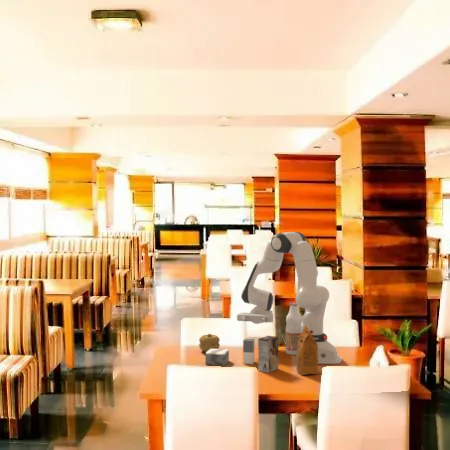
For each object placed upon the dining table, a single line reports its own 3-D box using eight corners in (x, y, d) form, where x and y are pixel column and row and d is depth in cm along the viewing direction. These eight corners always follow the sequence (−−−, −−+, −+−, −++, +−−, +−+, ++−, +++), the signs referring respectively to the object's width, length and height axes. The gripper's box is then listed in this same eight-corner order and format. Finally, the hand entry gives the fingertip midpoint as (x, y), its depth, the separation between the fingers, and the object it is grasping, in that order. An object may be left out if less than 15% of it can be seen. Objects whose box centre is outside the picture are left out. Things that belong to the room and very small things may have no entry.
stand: (228, 360, 296) (228, 349, 296) (224, 365, 287) (224, 354, 287) (210, 359, 299) (210, 348, 299) (205, 364, 289) (205, 353, 289)
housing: (254, 361, 295) (254, 339, 295) (252, 364, 290) (252, 341, 290) (245, 361, 296) (245, 338, 296) (243, 363, 291) (243, 340, 291)
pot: (223, 350, 318) (223, 333, 318) (212, 355, 308) (212, 337, 308) (206, 348, 324) (206, 330, 324) (194, 352, 315) (194, 334, 314)
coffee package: (313, 368, 282) (314, 325, 281) (319, 375, 269) (319, 330, 269) (294, 369, 281) (294, 325, 281) (299, 376, 269) (299, 330, 268)
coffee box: (268, 366, 285) (268, 335, 285) (278, 368, 281) (278, 337, 281) (257, 370, 278) (258, 338, 278) (268, 373, 274) (268, 340, 274)
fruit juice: (282, 353, 313) (282, 303, 312) (292, 350, 319) (293, 301, 319) (295, 356, 306) (295, 305, 305) (306, 353, 312) (306, 303, 312)
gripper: (239, 309, 320) (234, 313, 307) (274, 310, 315) (271, 315, 302) (239, 320, 320) (234, 325, 307) (274, 321, 316) (271, 326, 302)
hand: (253, 320), depth 304 cm, fingers open, 8 cm apart
